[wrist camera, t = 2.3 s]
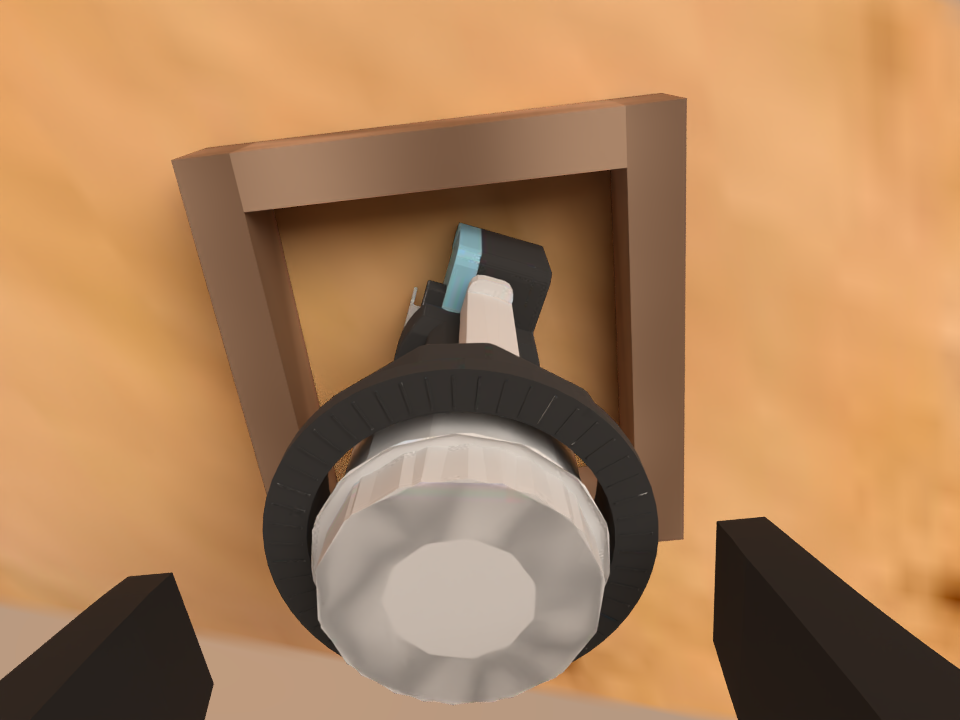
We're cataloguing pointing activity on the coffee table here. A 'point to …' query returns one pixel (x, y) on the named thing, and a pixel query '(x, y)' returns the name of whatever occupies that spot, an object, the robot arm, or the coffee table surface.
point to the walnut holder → (441, 165)
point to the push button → (463, 499)
